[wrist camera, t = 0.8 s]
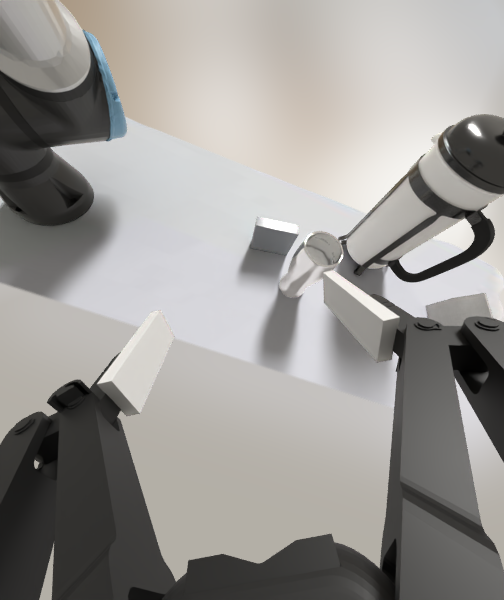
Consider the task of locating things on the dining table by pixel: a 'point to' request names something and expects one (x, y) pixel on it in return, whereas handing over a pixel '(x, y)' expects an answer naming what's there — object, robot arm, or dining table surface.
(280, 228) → the block
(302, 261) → the beer glass
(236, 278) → the dining table surface
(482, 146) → the coffee press
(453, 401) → the robot arm
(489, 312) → the printed carton
